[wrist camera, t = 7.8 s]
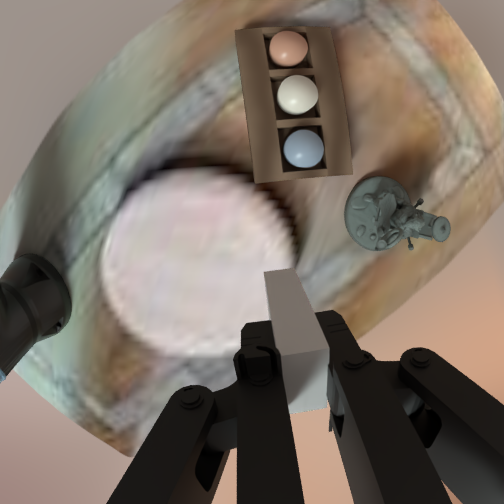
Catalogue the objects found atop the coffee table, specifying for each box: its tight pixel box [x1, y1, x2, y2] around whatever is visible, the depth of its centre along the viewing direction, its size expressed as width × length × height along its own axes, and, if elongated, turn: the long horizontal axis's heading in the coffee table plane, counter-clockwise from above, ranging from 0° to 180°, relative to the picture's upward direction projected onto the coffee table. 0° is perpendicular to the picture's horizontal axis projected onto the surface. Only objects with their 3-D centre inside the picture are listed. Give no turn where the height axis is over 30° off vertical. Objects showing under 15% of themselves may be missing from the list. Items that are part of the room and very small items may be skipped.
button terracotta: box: [269, 31, 308, 69], centre depth 28 cm, size 4×4×3 cm
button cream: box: [276, 75, 318, 115], centre depth 29 cm, size 4×4×3 cm
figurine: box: [344, 176, 450, 251], centre depth 32 cm, size 11×11×12 cm
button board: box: [235, 26, 353, 183], centre depth 32 cm, size 12×20×4 cm, turn 7°
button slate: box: [282, 130, 324, 167], centre depth 32 cm, size 4×4×3 cm
